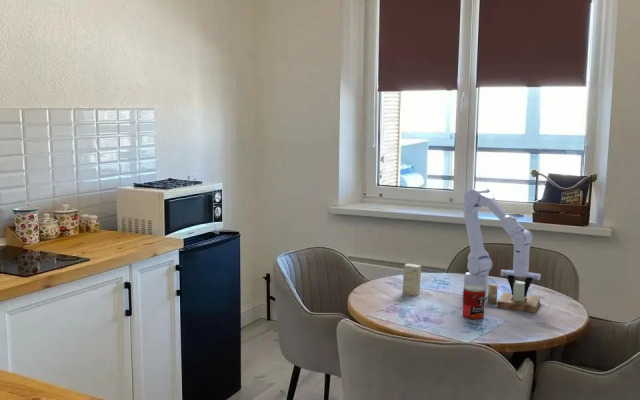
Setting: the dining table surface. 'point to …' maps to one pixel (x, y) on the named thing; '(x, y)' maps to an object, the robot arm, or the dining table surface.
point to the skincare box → (411, 279)
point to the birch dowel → (492, 293)
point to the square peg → (519, 291)
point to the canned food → (473, 301)
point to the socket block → (518, 303)
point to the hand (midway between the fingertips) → (519, 295)
